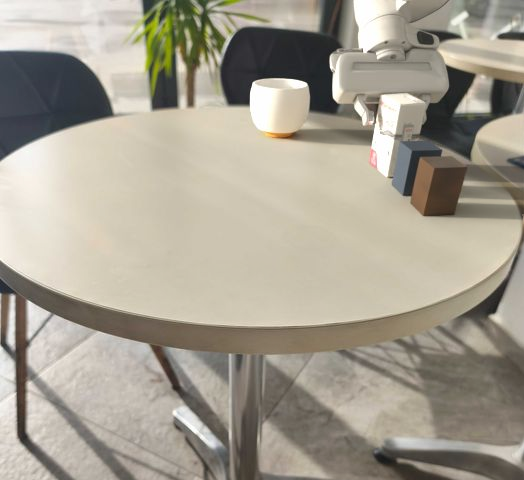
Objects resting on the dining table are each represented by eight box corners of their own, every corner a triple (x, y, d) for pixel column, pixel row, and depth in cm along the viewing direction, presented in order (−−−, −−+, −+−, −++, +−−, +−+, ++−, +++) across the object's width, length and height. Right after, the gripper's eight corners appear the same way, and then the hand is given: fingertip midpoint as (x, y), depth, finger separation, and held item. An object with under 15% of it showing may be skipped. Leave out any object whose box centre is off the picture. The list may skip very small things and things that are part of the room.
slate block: (419, 183, 84) (429, 140, 79) (431, 194, 80) (442, 149, 76) (391, 184, 83) (399, 141, 79) (402, 195, 79) (411, 150, 75)
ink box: (367, 162, 92) (378, 92, 85) (392, 161, 93) (405, 91, 86) (386, 178, 85) (399, 103, 78) (412, 176, 86) (428, 102, 79)
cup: (256, 143, 100) (257, 90, 94) (244, 127, 109) (244, 78, 103) (314, 141, 102) (319, 89, 96) (297, 125, 111) (300, 77, 105)
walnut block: (439, 201, 78) (451, 155, 73) (454, 214, 74) (467, 167, 69) (409, 202, 77) (419, 156, 73) (423, 215, 73) (434, 168, 69)
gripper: (333, 35, 82) (342, 113, 81) (447, 36, 85) (458, 111, 84) (323, 61, 88) (331, 134, 87) (430, 62, 91) (440, 132, 90)
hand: (394, 123), depth 85 cm, fingers open, 8 cm apart
